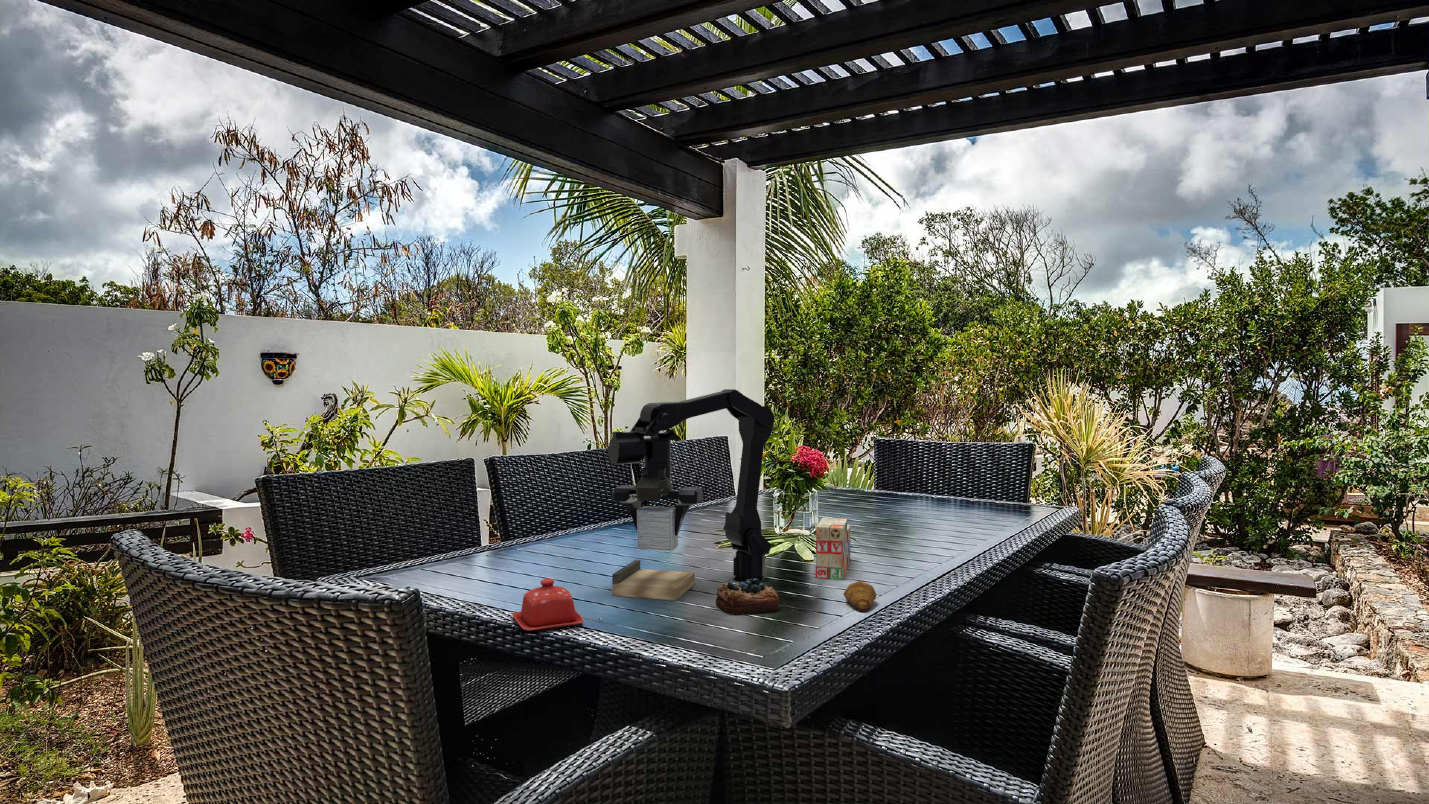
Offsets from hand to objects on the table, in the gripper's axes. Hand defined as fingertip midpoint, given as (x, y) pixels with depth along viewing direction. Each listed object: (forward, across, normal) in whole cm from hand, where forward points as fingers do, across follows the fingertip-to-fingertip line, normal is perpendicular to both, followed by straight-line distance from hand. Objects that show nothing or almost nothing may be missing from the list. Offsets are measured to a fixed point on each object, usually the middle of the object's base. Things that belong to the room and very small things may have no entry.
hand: (657, 534), depth 172 cm
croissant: (+13, +43, +1) cm, 45 cm away
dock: (+12, -1, +2) cm, 12 cm away
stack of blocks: (+13, +35, +30) cm, 48 cm away
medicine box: (+3, 0, 0) cm, 3 cm away
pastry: (+13, +21, -7) cm, 25 cm away
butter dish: (+12, -14, -26) cm, 32 cm away
